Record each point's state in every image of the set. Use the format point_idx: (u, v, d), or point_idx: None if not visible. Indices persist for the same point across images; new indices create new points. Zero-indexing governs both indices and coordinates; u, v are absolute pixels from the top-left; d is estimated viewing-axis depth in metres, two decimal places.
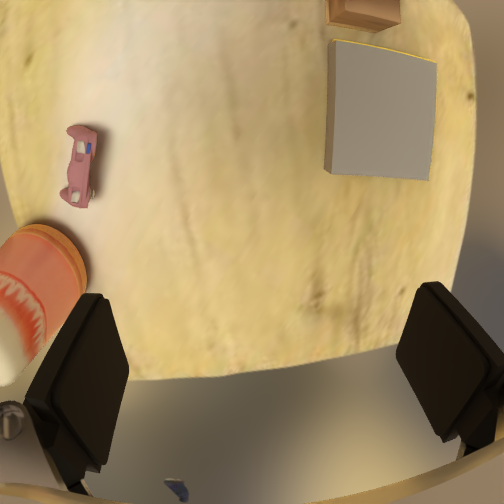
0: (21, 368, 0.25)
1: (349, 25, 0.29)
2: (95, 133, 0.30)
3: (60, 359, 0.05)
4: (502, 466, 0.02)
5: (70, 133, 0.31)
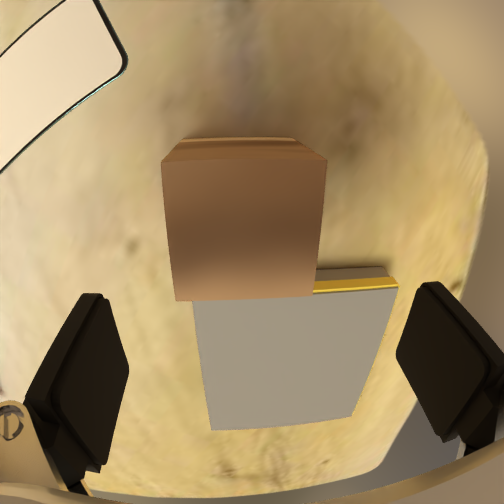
0: None
1: None
2: None
3: (60, 359, 0.05)
4: (502, 466, 0.02)
5: None
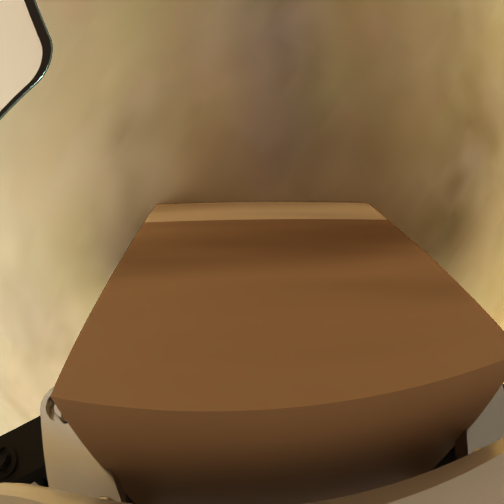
0: None
1: None
2: None
3: None
4: (502, 466, 0.02)
5: None
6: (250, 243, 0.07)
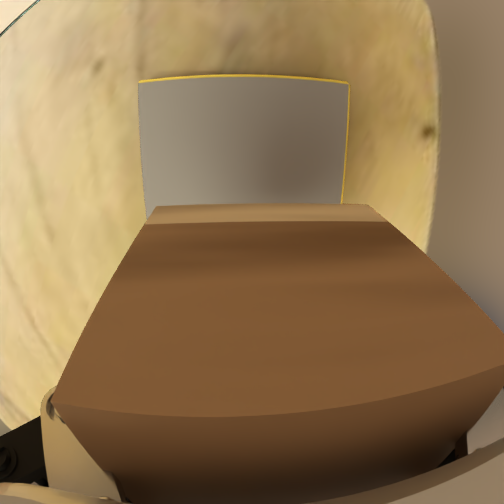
0: None
1: None
2: None
3: None
4: (502, 466, 0.02)
5: None
6: (250, 246, 0.07)
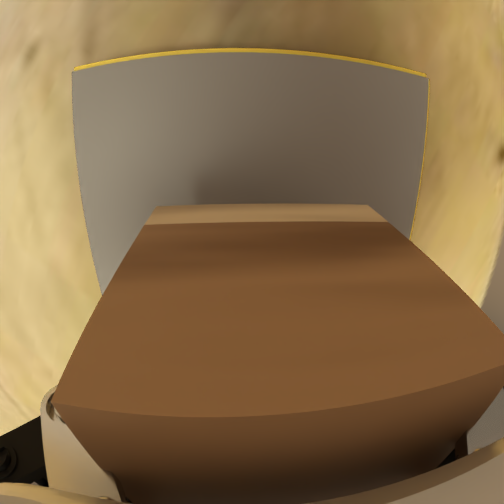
0: None
1: None
2: None
3: None
4: (502, 466, 0.02)
5: None
6: (250, 246, 0.07)
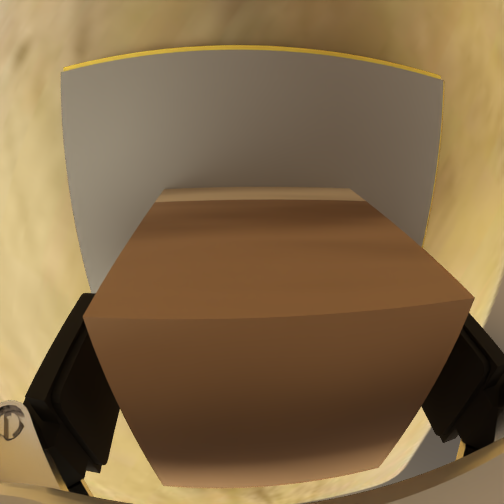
0: None
1: None
2: None
3: (60, 359, 0.05)
4: (502, 466, 0.02)
5: None
6: (244, 216, 0.08)
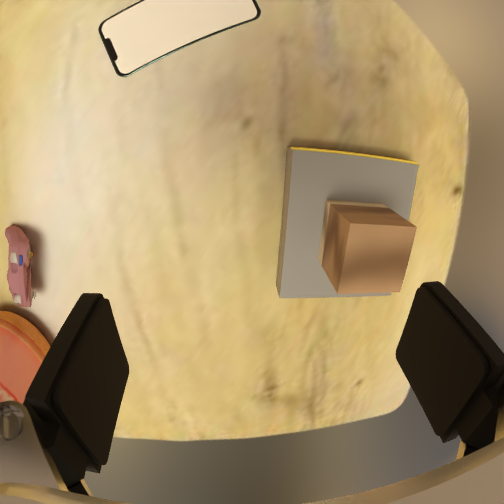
0: None
1: None
2: (26, 243, 0.30)
3: (60, 359, 0.05)
4: (502, 466, 0.02)
5: (7, 238, 0.30)
6: (360, 209, 0.28)
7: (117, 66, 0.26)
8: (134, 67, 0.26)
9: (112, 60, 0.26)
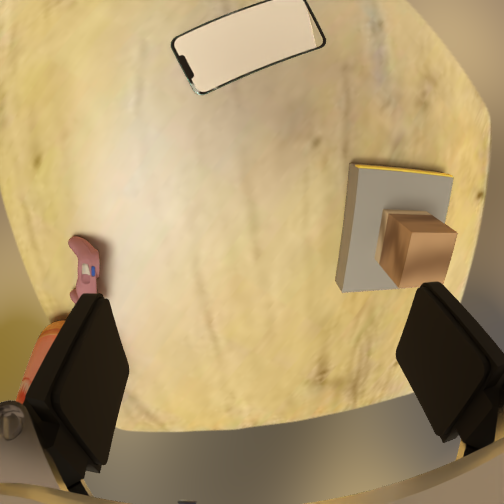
0: None
1: None
2: (97, 254, 0.34)
3: (60, 359, 0.05)
4: (502, 466, 0.02)
5: (72, 249, 0.34)
6: (412, 218, 0.32)
7: (194, 84, 0.30)
8: (211, 86, 0.30)
9: (188, 78, 0.30)
